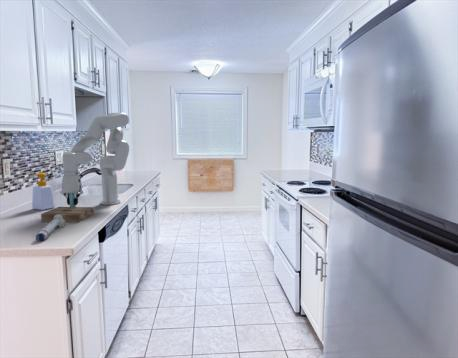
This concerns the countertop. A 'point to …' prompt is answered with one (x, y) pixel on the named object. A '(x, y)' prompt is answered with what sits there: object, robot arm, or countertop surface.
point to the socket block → (68, 214)
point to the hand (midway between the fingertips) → (72, 204)
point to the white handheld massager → (50, 227)
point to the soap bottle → (42, 195)
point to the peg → (71, 199)
